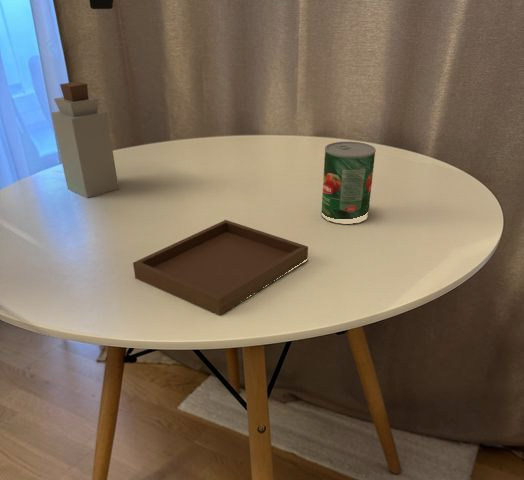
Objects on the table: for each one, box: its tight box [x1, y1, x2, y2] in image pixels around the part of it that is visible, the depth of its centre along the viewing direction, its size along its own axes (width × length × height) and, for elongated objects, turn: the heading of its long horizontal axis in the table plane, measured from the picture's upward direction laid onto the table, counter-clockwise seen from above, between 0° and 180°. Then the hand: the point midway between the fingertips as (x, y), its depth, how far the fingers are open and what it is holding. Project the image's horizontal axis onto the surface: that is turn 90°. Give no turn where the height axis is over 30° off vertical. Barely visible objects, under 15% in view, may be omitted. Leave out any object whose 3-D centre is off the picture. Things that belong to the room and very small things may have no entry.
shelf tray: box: [132, 219, 309, 316], centre depth 76 cm, size 19×16×2 cm
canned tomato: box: [321, 141, 377, 219], centre depth 89 cm, size 8×8×11 cm
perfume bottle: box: [50, 81, 120, 199], centre depth 98 cm, size 7×7×18 cm
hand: (102, 6), depth 84 cm, fingers open, 9 cm apart
